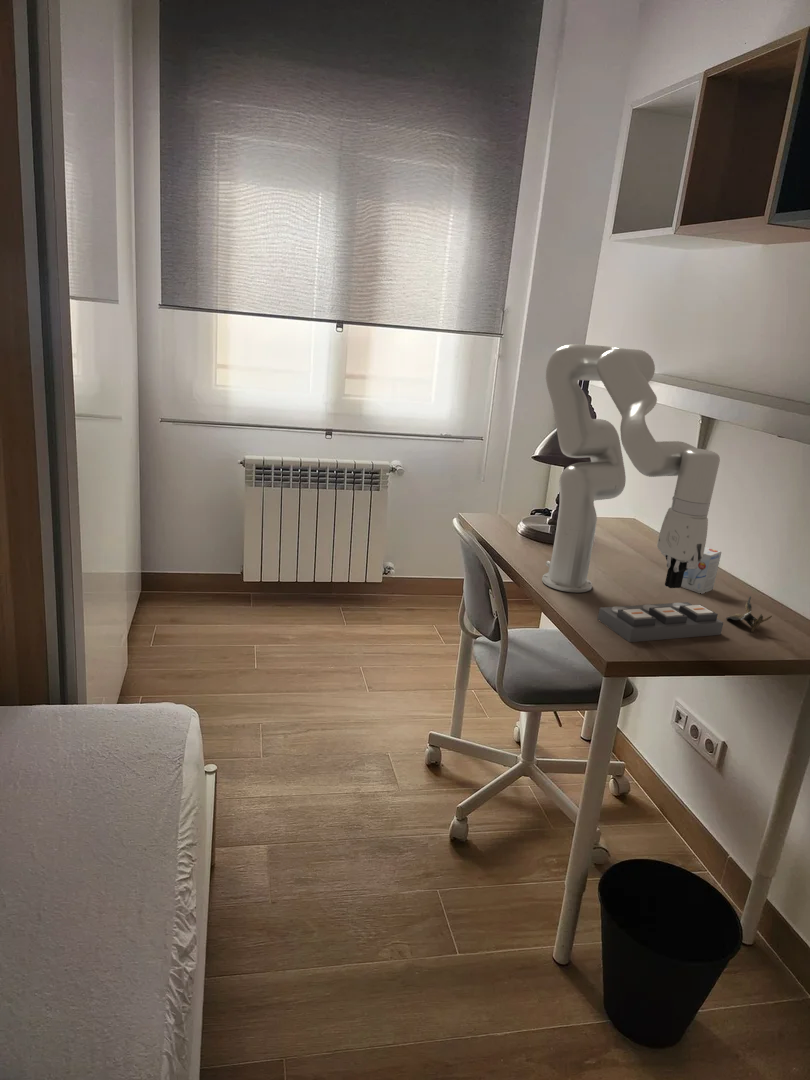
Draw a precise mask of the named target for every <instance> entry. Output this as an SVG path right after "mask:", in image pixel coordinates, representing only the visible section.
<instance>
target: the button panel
mask: <svg viewBox="0 0 810 1080" xmlns="http://www.w3.org/2000/svg"><path fill="white" fill-rule="evenodd" d="M690 605H693V603H690V602H689V601H685V602H669V603H656V604H655V603H654V604H653V603H652V604H651V603H650V604H638V605H636V604H635V605H634V604H633V605H623V606H605V607H599V610H598V615H597V621H598V620H600V621H601V622H602V623H601V622H600V621H599V622H600V623H601V624H603V623H604V624H605V625H604V624H603V625H604V626H606V625H607V626H608V627H609V629H610V628H611V629H612V630H611V629H610V630H611V631H613V633H616V635H618V636H620V637H621V638H622V639H624V640H626V641H627V642H629V643H635V642H637V643H638V642H645V641H658V640H659V641H660V640H661V641H662V640H671V639H685V638H695V637H707V636H720V635H722V630H723V627H724V622H723V621H722V620H721V619H718V615H719V614H718V613H717V612H715V611H714V610H712V609H710V608H708V607H706V606H704V605H702V604H697V605H701V606H703V607H705V608H707V609H708V610H710V611H712V612H713V614H702V615H697V614H695V613H694V612H692V611H690V610H688V609H687V608H685V606H690ZM665 607H671V608H672V609H674V610H676V611H677V612H679V613H681V614H682V615H683V616H673V617H666V616H664V615H663V614H661V613H659V612H658V611H656V610H654V608H665ZM628 609H641V610H642V611H644V612H645V613H647V614H648V615H650V616H652V618H645V619H634V618H632V617H631V616H629V615H627V614H626V613H624V612H623V610H628ZM607 626H606V627H607ZM608 627H607V628H608Z"/></svg>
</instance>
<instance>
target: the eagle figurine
mask: <svg viewBox="0 0 810 1080" xmlns="http://www.w3.org/2000/svg"><path fill="white" fill-rule="evenodd" d="M751 599H752V596H749V597H748V600H747V601H746V603H745V607H744V608H745V613H743V614H741V613H734V614H731V615H729V616H727V617H726V618H725V619H729V620H730V619H731V620H733V621H739V620H740V621H743V620H744V621H745V622H746V624H748V625H749V627H751V633H754V631H755V630H756V629H757V627H759V625H760V624H762V623H764V622H766V621H768V620H770V619H771V618H772V617H773V615H768V616H767V617H764V616H763V614H762V613H761V614H760V615H759V616H758V617H757V618H756V617H755V616H754V615H752V610H753V609H752V603H750V602H751Z"/></svg>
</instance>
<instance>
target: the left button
mask: <svg viewBox="0 0 810 1080" xmlns="http://www.w3.org/2000/svg"><path fill="white" fill-rule="evenodd" d="M623 612H624V613H626V614H627V615H629V616H631V617H632V618H634V619H645V618H652V616H650V615H648V614H647V613H645V612H644V611H642V610H641V609H628V610H623Z"/></svg>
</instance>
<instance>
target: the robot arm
mask: <svg viewBox="0 0 810 1080" xmlns="http://www.w3.org/2000/svg"><path fill="white" fill-rule="evenodd" d="M655 366H656V365H655V361H654V359H653V358H652V356H651V355H650V354H649V353H648V352H646V351H645V350H642V349H635V348H633V349H632V348H622V347H615V346H607V345H596V344H595V345H594V344H593V345H592V344H585V343H584V344H581V343H573V344H572V343H571V344H570V343H569V344H565V345H563V346H560V347H558V348H556V350H554V351H553V353H552V354H551V355H550V357H549V359H548V362H547V364H546V367H545V368H546V369H545V380H546V381H545V382H546V387H547V389H548V393H549V397H550V399H551V400H550V401H551V404H552V409H553V415H554V416H553V417H554V422H555V426H556V427H555V428H556V432H557V433H556V434H557V440H558V445H559V448H560V451H561V453H562V454H563V455H564V456H566V457H568V458H573V459H574V458H575V459H582V458H583V459H584V458H590V461H584V462H575V463H572V464H570V465H568V466H567V467H565V469H563V471H562V472H561V474H560V476H559V482H558V488H559V490H558V491H559V505H558V506H559V507H558V515H557V521H556V529H555V535H554V541H553V547H552V553H551V560H547V561H545V566H547V567H548V572H545V573H544V574H543V575H542V578H541V579H542V580H541V581H542V583H544V584H545V585H546V586H548V587H549V588H552V589H554V590H558V591H562V592H567V593H576V594H577V593H586V592H589V591H591V590H592V588H593V583H592V581H591V580H590V579H589V578H588V576H589V570H590V564H591V563H590V562H591V557H592V552H593V546H594V540H595V533H596V527H597V521H598V519H597V518H598V515H597V511H596V508H595V503H594V501H602V500H603V501H604V500H605V501H606V500H611V499H614V498H617V497H618V496H620V495H621V494H623V492H624V489H625V488H626V487H625V486H626V478H627V477H626V469H625V465H624V464H625V463H624V457H623V451H622V447H623V450H624V451H625V453H626V455H627V456H628V458H629V460H630V461H631V464H632V465H633V466H634V468H635V469H636V470H637V471H638V472H639V473H640V474H642V475H643V476H646V477H649V478H656V477H677V480H676V484H675V489H674V493H673V496H672V499H671V500H672V503H671V507H669V508H668V509H667V511H666V513H665V515H664V519H663V521H662V524H661V528H660V531H659V533H658V534H659V535H658V539H657V542H656V547H657V549H658V551H660V554H662V555H663V557H665V560H666V568H667V572H666V576H665V582H664V585H665V586H666V587H668V588H669V589H680V588H682V587H681V584H682V580H683V575H684V572H686V571H687V569H697V567H698V562H699V561H701V559H702V557H703V553H704V549H705V547H706V544H707V537H708V526H709V518H708V514H709V510H710V505H711V501H712V499H713V498H712V497H713V493H714V488H715V484H716V480H717V475H718V471H719V468H720V467H719V466H720V462H721V461H720V460H721V459H720V455H719V454H718V453H717V452H715V451H713V450H708V449H704V448H698V447H696V446H693V445H691V444H689V443H687V442H684V441H679V440H676V441H675V440H673V441H670V440H669V441H663V440H662V441H656V439H655V438H654V436H653V435H652V432H650V430H649V427H648V426H647V422H646V415H647V414H649V413H651V411H652V410H653V409H654V408H655V406H656V404H657V401H658V398H657V395H656V393H655V392H654V390H653V389H652V386H651V385H650V384H649V382H650V381H652V379H653V378H654V375H655V373H656V371H655V370H656V367H655ZM579 381H591V382H594V381H595V382H601V383H602V384H603V385H604V388H605V389H606V391H607V393H608V394H609V396H610V398H611V400H612V402H613V403H614V405H615V407H616V409H617V410H618V412H619V414H620V416H621V421H620V430H619V431H620V436H619V433H618V431H617V429H616V427H615V426H614V424H612V423H611V422H610V421H608V420H606V419H602V418H592V417H591V416H592V415H591V412H590V408H589V402H588V401H589V400H588V397H587V396H586V393H585V392H584V390H583V389H582V388H581V386H580V385H579ZM621 445H622V446H621ZM682 562H683V563H682ZM668 568H669V569H668Z"/></svg>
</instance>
